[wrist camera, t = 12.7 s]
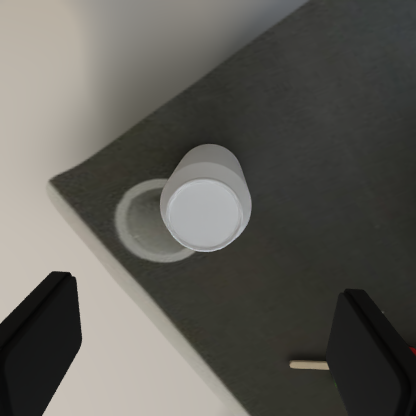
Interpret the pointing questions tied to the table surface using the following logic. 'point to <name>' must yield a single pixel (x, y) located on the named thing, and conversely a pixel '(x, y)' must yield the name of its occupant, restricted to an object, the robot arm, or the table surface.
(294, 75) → the table surface
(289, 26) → the table surface
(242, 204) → the beverage can
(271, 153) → the table surface
